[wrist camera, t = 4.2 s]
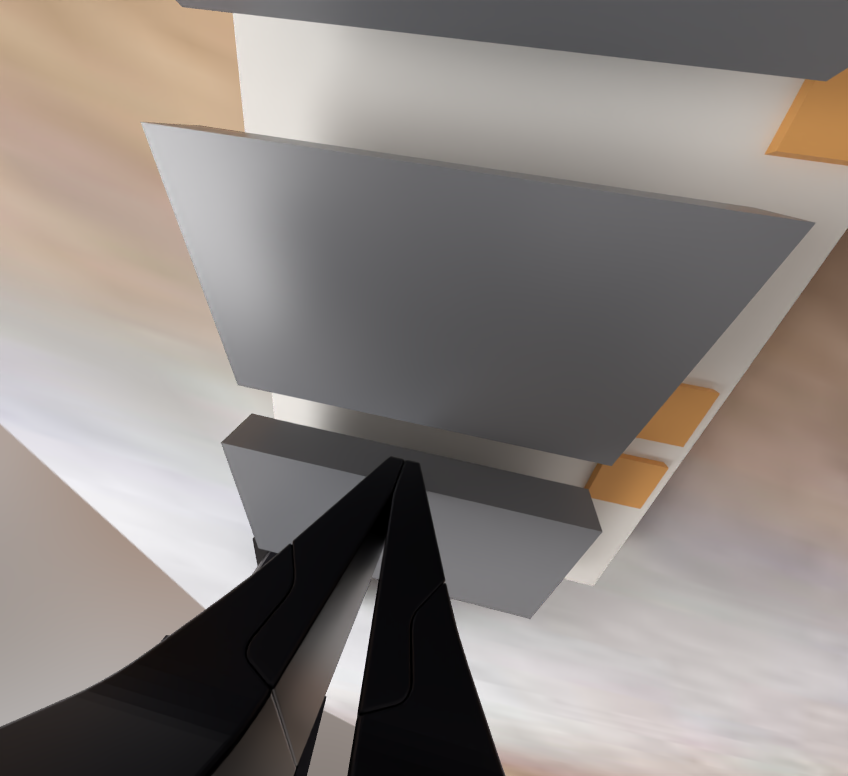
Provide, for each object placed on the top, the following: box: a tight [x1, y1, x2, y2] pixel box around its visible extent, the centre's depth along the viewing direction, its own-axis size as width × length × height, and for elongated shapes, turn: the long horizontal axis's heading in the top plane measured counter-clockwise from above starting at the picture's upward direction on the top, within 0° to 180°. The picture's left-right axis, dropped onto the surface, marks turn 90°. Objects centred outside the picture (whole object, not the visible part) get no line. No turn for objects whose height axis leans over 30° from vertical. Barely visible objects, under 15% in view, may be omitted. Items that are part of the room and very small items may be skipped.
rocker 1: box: [141, 122, 815, 466], centre depth 7 cm, size 6×11×1 cm, turn 82°
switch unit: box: [233, 13, 848, 586], centre depth 10 cm, size 23×15×4 cm, turn 172°
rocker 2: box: [221, 414, 602, 619], centre depth 11 cm, size 6×11×1 cm, turn 82°
